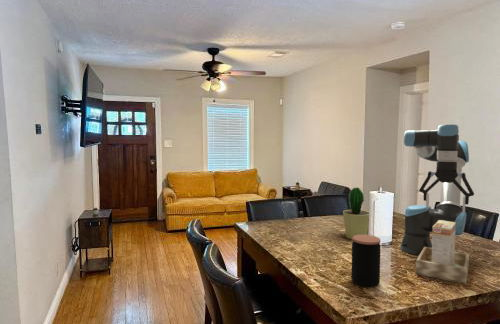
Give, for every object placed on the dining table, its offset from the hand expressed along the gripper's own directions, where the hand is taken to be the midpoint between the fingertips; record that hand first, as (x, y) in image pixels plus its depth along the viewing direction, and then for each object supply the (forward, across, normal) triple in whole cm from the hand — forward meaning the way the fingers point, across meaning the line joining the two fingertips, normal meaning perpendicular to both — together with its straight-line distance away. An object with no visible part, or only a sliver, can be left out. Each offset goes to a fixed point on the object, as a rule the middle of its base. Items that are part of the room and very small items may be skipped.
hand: (445, 210), depth 144 cm
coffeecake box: (+26, 0, 0) cm, 26 cm away
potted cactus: (+27, -47, +29) cm, 61 cm away
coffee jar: (+27, -24, -32) cm, 48 cm away
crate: (+27, 0, 0) cm, 27 cm away
